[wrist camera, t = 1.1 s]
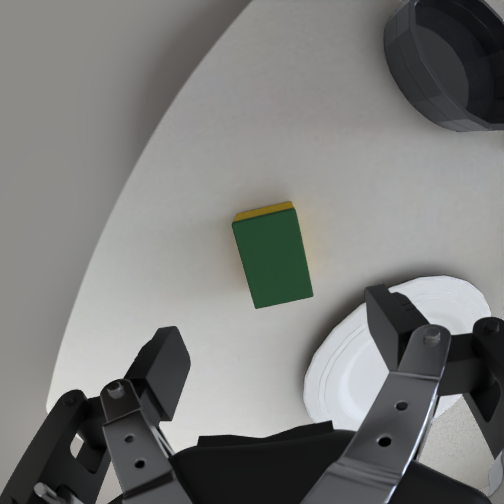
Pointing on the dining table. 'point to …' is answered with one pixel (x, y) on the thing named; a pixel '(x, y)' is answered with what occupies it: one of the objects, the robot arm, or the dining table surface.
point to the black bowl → (449, 61)
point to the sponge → (273, 254)
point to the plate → (369, 358)
